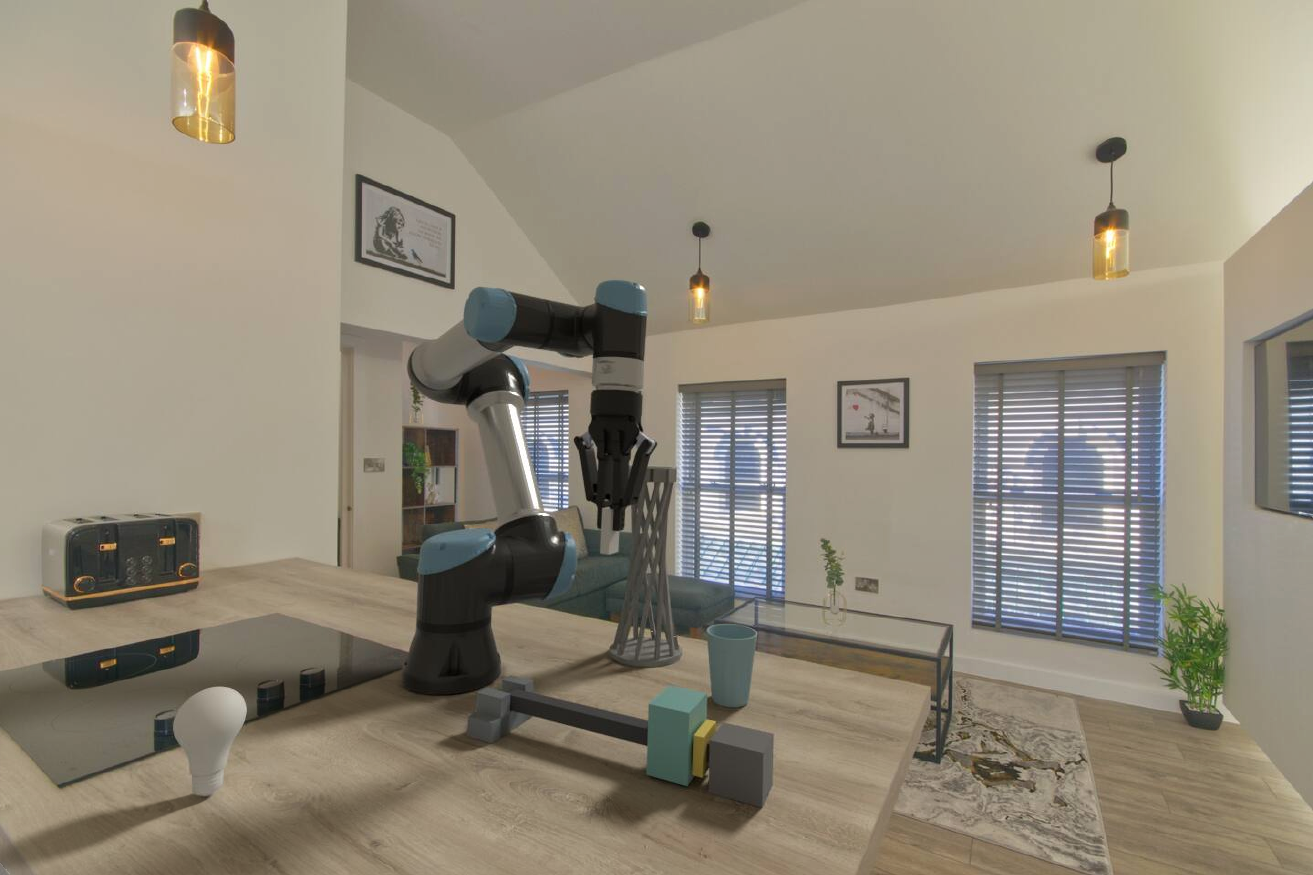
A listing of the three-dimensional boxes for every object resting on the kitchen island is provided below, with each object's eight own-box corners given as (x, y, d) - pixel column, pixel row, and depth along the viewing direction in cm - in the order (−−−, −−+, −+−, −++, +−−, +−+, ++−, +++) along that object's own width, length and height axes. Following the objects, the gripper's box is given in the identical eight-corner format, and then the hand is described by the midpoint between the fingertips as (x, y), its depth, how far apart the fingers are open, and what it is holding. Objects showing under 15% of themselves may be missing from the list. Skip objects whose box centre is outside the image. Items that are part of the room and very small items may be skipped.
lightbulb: (196, 778, 63) (202, 677, 63) (255, 777, 63) (260, 677, 64) (152, 813, 57) (159, 701, 57) (218, 812, 57) (223, 701, 58)
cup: (766, 706, 85) (767, 635, 86) (721, 714, 82) (722, 641, 83) (738, 687, 92) (739, 621, 93) (696, 694, 89) (698, 626, 90)
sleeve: (646, 774, 66) (648, 703, 66) (667, 750, 71) (669, 685, 71) (687, 786, 63) (689, 713, 64) (705, 760, 69) (707, 693, 69)
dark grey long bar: (500, 722, 75) (501, 688, 75) (521, 708, 79) (522, 676, 79) (753, 791, 61) (754, 749, 61) (763, 771, 65) (764, 732, 65)
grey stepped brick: (467, 736, 74) (468, 696, 74) (516, 706, 83) (517, 671, 83) (491, 743, 72) (493, 703, 72) (539, 711, 81) (540, 676, 82)
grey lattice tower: (666, 639, 115) (671, 465, 116) (693, 662, 103) (699, 467, 104) (600, 645, 110) (606, 463, 111) (621, 670, 98) (627, 465, 99)
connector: (708, 792, 63) (709, 739, 63) (721, 771, 67) (723, 722, 68) (762, 807, 61) (763, 753, 61) (772, 784, 65) (773, 733, 65)
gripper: (564, 387, 83) (557, 550, 82) (645, 387, 77) (636, 563, 77) (592, 392, 89) (585, 543, 89) (668, 393, 84) (660, 554, 83)
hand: (609, 552), depth 83 cm, fingers closed
